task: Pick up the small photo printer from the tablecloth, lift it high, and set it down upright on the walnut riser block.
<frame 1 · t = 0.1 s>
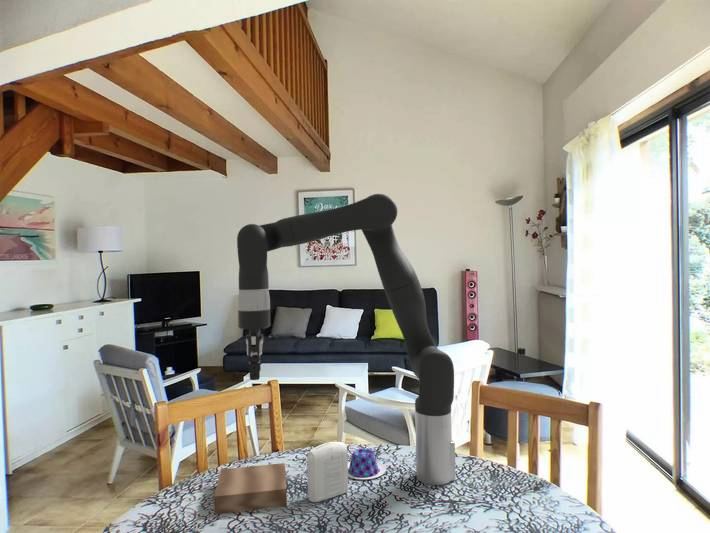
hand: (255, 375, 107), 29 cm above the table, tool pointing down, fingers open, 8 cm apart
walnut riser: (252, 495, 108), on the table
pudding: (363, 472, 120), on the table
photo printer: (328, 496, 107), on the table
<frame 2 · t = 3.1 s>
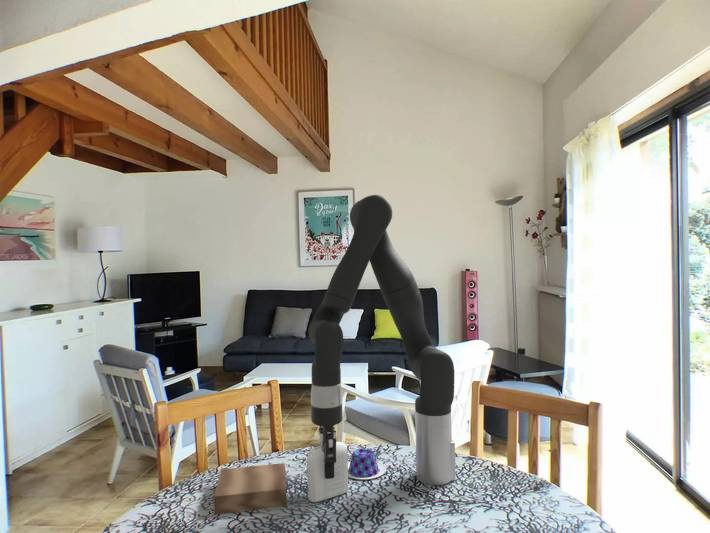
hand: (327, 471, 107), 6 cm above the table, tool pointing down, fingers closed on photo printer, 5 cm apart
photo printer: (328, 495, 107), on the table, touching gripper
everything else where it was.
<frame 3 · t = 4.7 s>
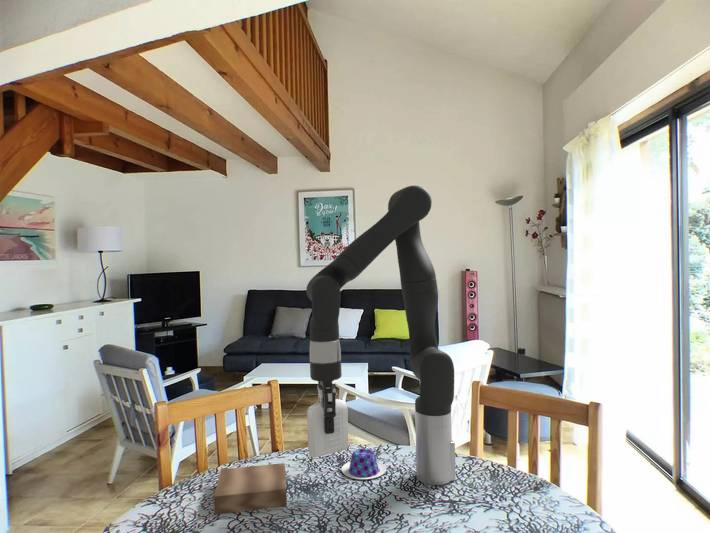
hand: (327, 428, 108), 16 cm above the table, tool pointing down, fingers closed on photo printer, 5 cm apart
photo printer: (328, 452, 107), point 10 cm above the table, touching gripper
everything else where it was.
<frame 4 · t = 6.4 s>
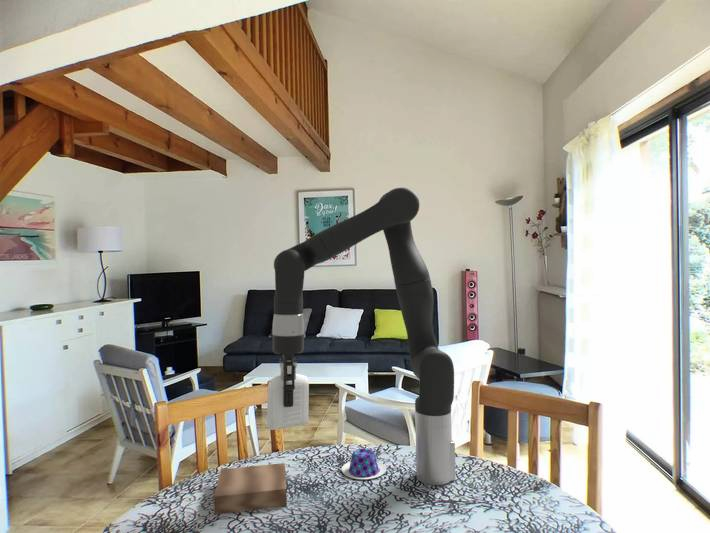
hand: (287, 402, 108), 22 cm above the table, tool pointing down, fingers closed on photo printer, 5 cm apart
photo printer: (288, 426, 107), point 17 cm above the table, touching gripper
everything else where it was.
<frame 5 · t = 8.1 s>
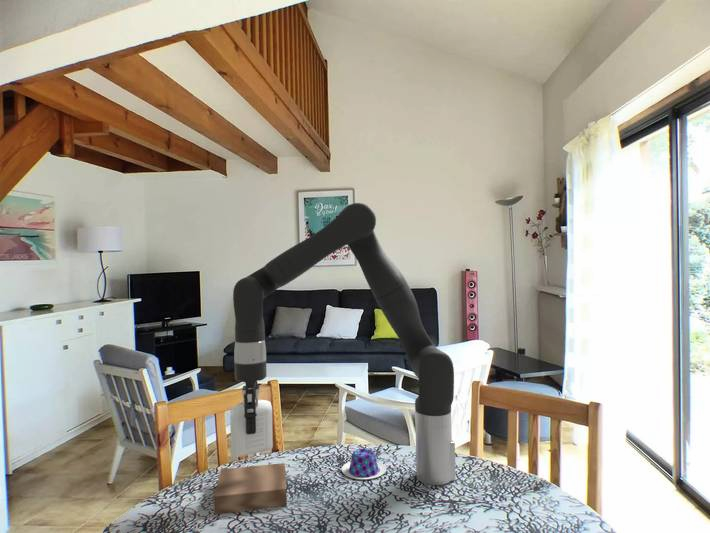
hand: (251, 428, 108), 16 cm above the table, tool pointing down, fingers closed on photo printer, 5 cm apart
photo printer: (252, 452, 108), point 10 cm above the table, touching gripper
when the fingers open (11 cm above the table, at t = 9.5 s): photo printer drops 1 cm, resting on walnut riser.
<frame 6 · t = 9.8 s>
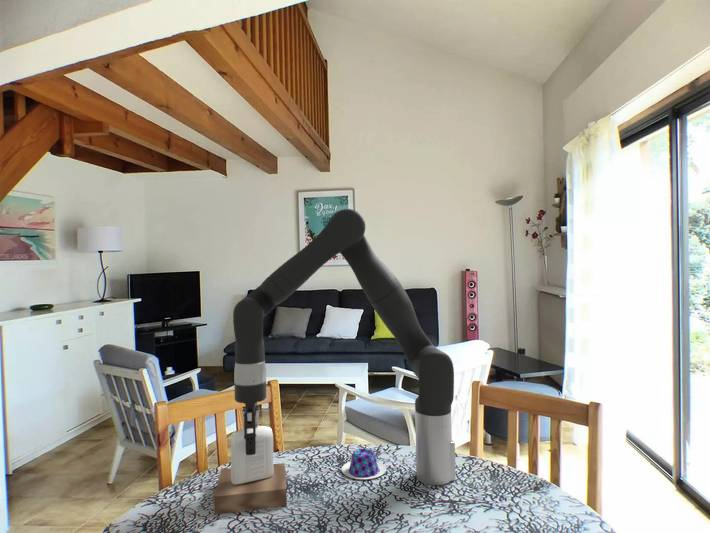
hand: (251, 447, 108), 12 cm above the table, tool pointing down, fingers open, 8 cm apart
photo printer: (252, 479, 108), point 4 cm above the table, touching walnut riser
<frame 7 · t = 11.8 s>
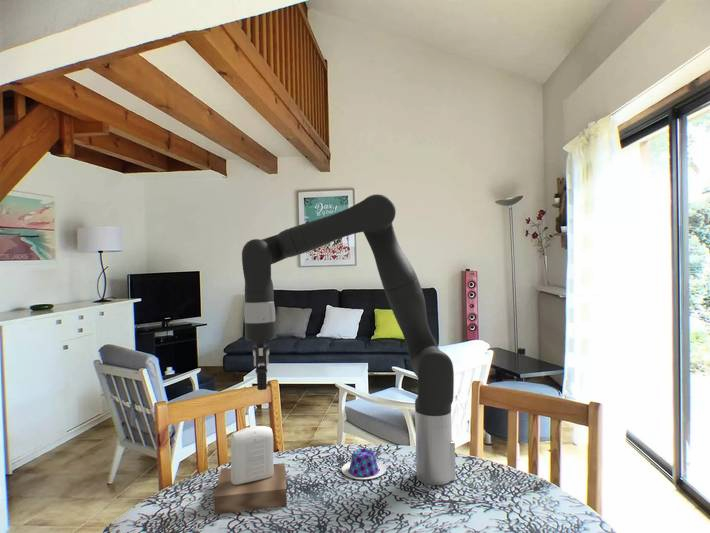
hand: (262, 385, 111), 26 cm above the table, tool pointing down, fingers open, 8 cm apart
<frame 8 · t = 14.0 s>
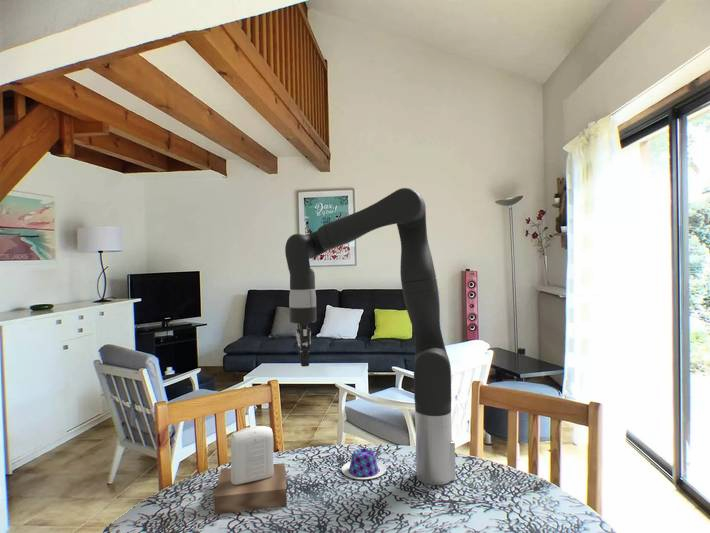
hand: (303, 363, 126), 28 cm above the table, tool pointing down, fingers open, 8 cm apart
at the end: photo printer inside the target area on the walnut riser (0.2 cm from its centre), point 3.8 cm above the walnut riser's base; photo printer tilted 0°; the gripper is holding nothing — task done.
